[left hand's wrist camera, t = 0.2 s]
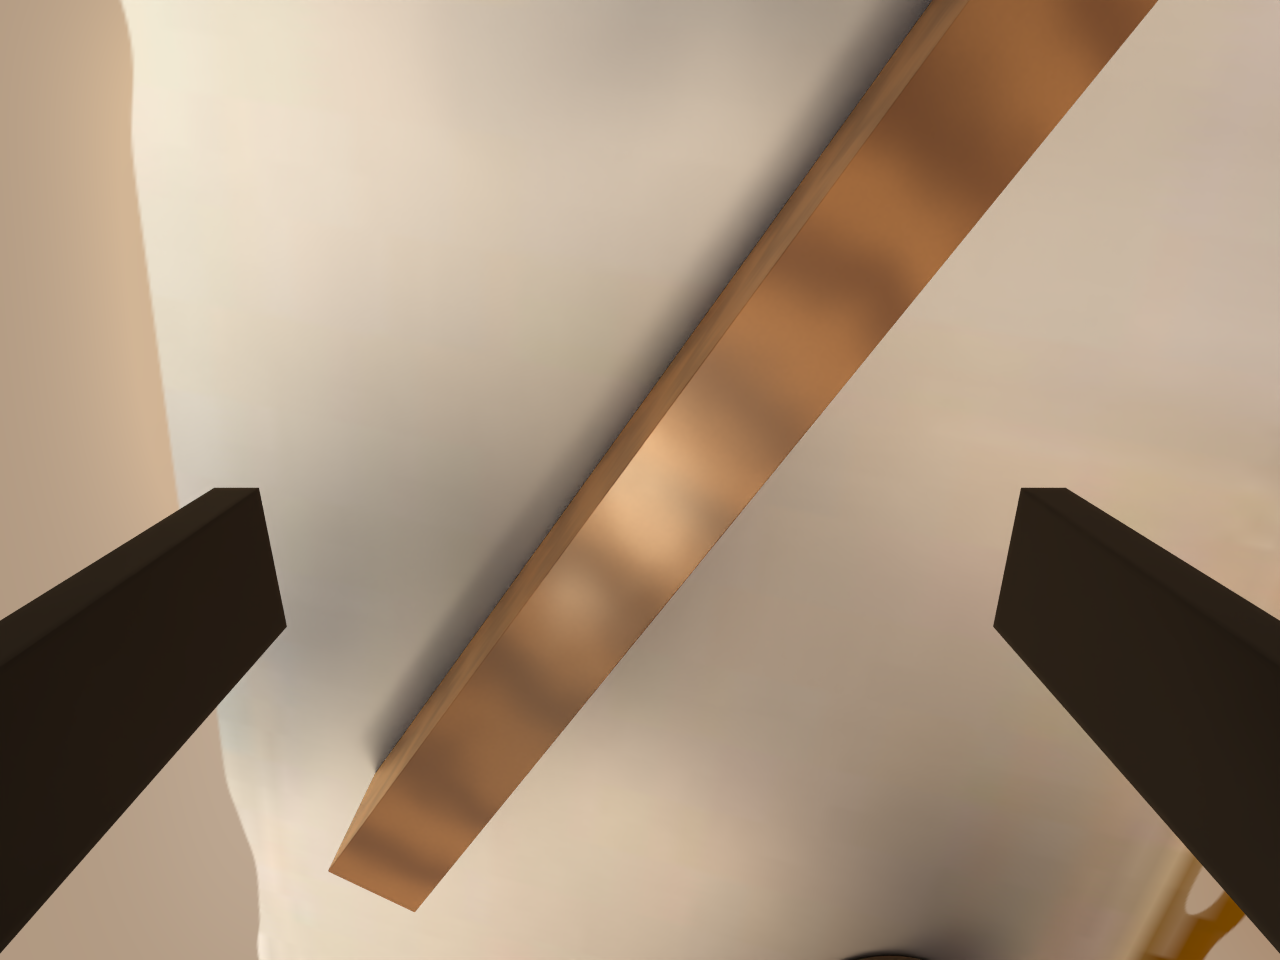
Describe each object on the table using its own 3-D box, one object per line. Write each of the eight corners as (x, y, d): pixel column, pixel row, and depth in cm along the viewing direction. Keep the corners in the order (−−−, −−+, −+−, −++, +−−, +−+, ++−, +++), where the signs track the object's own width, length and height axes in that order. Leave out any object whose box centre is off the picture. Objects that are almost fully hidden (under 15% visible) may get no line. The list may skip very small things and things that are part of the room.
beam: (1238, -426, 28) (1452, -658, 21) (1329, -314, 29) (1563, -496, 22) (374, 773, 49) (327, 871, 42) (447, 811, 50) (414, 912, 43)
